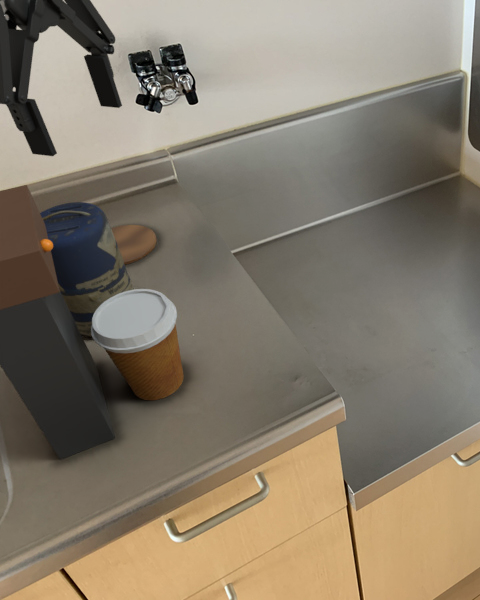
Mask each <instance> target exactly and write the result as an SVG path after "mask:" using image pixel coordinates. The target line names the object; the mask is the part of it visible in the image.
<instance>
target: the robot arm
mask: <svg viewBox="0 0 480 600" xmlns="http://www.w3.org/2000/svg"><path fill="white" fill-rule="evenodd" d="M50 27H58V28H60V29H61V30H62V31H63V32H64V33H65V34H66V35H67V36H69V37H70V38H71V39H72V40H73V41H74V42H75V43H77V44H78V45H79V46H81V47H82V48H83V49H84V50H85V51H86V52H87V54H85V55H83V59H84V61H85V65H86V67H87V70H88V73H89V76H90V79H91V82H92V85H93V87H94V91H95V93H96V96H97V100H98V102H99V105H100V107H107V108H116V109H117V108H118V109H120V108H121V107H122V106H123V104H122V100H121V98H120V94H119V91H118V89H117V88H118V87H117V86H116V82H115V79H114V75H115V74H114V70H113V68H112V64H111V61H110V58H109V55H114V53H115V47H114V44H115V43H116V36H115V34H114V33H113V32H112V30H111V28H110V27H109V26H108V24H107V22H106V21H105V20H104V18H103V17H102V16H101V14H100V12H99V11H98V10H97V8H96V6H95V5H94V4H93V2H92V1H91V0H0V105H5V106H6V107H7V109H8V111H9V114H10V116H11V118H12V120H13V122H14V125H15V126H16V128H17V130H18V131H19V132H22V133H23V135H24V136H23V137H25V140H26V143H27V144H28V147H29V149H30V152H31V153H32V155H39V156H46V157H54V156H56V155H57V154H58V153H57V152H58V151H57V150H56V147H55V145H54V142H53V140H52V137H51V135H50V133H49V130H48V128H47V125H46V123H45V121H44V118H43V116H42V113H41V110H40V109H39V106H38V104H37V102H36V99H35V98H29V90H30V89H29V88H30V82H31V81H30V80H31V74H32V73H31V72H32V71H31V70H32V65H33V56H34V48H35V44H36V43H37V42H38V41H39V39H40V34H42V33H45V32H47V31H48V29H49V28H50ZM17 28H19V29H17ZM88 53H90V54H88ZM14 88H15V90H14Z"/></svg>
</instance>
